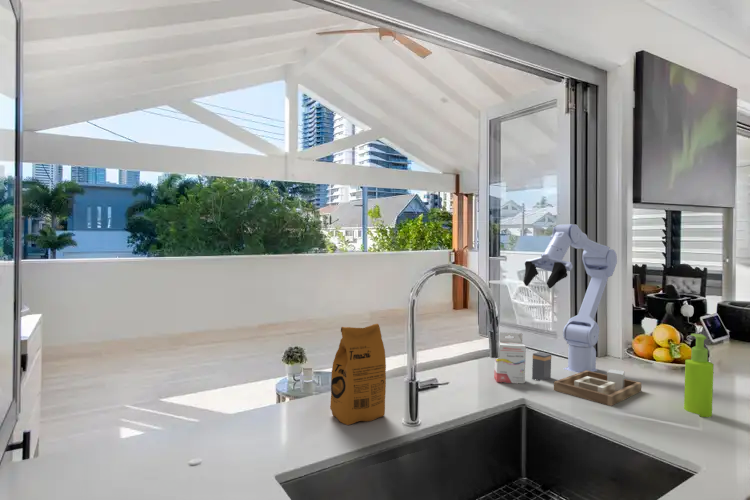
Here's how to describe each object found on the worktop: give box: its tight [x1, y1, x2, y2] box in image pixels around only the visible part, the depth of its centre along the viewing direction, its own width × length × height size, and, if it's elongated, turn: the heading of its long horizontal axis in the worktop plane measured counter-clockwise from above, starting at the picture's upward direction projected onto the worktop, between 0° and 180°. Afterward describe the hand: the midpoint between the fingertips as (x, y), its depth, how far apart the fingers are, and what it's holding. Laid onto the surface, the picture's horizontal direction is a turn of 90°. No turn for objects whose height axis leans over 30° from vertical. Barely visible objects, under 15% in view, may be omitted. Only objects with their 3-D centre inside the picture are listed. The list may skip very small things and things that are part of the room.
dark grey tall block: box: [531, 351, 552, 382], centre depth 144 cm, size 4×4×8 cm
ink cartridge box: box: [493, 331, 527, 384], centre depth 142 cm, size 9×5×15 cm, turn 84°
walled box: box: [553, 370, 642, 407], centre depth 132 cm, size 20×16×4 cm
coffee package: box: [329, 323, 387, 426], centre depth 111 cm, size 10×12×22 cm
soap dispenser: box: [683, 333, 714, 418], centre depth 118 cm, size 6×7×20 cm
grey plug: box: [606, 368, 626, 391], centre depth 134 cm, size 4×4×5 cm
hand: (536, 284), depth 136 cm, fingers open, 7 cm apart
